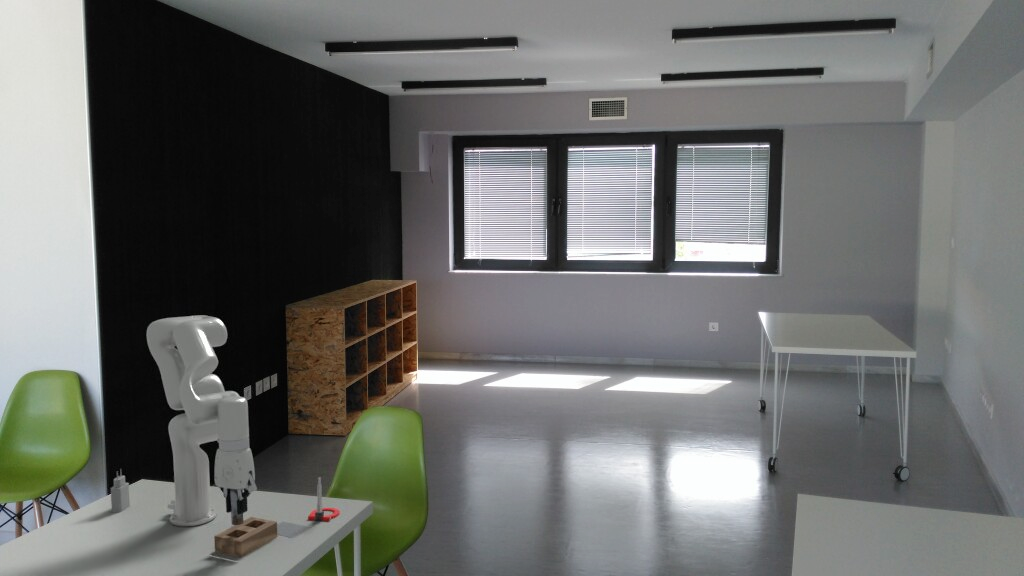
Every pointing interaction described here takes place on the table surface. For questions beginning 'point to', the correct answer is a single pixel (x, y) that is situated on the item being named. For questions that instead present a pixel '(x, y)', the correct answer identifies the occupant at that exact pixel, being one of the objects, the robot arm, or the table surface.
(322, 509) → the tow hook
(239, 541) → the block
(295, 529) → the mat
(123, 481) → the power adapter
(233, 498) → the pin
